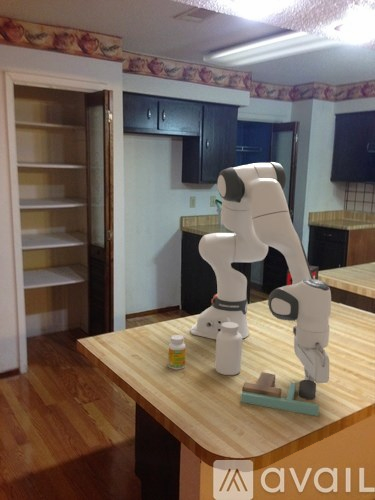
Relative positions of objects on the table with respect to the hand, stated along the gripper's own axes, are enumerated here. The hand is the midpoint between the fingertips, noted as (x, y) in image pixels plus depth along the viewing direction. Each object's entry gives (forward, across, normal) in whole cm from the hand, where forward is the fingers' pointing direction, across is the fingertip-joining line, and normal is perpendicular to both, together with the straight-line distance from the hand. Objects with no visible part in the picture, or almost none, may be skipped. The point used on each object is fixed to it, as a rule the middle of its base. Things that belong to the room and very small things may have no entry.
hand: (309, 383), depth 126 cm
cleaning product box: (+2, +72, -19) cm, 74 cm away
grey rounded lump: (+2, -4, +2) cm, 4 cm away
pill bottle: (+2, +12, +22) cm, 25 cm away
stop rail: (+2, -5, +9) cm, 11 cm away
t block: (+2, -2, +13) cm, 14 cm away
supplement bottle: (+2, +16, +38) cm, 41 cm away
